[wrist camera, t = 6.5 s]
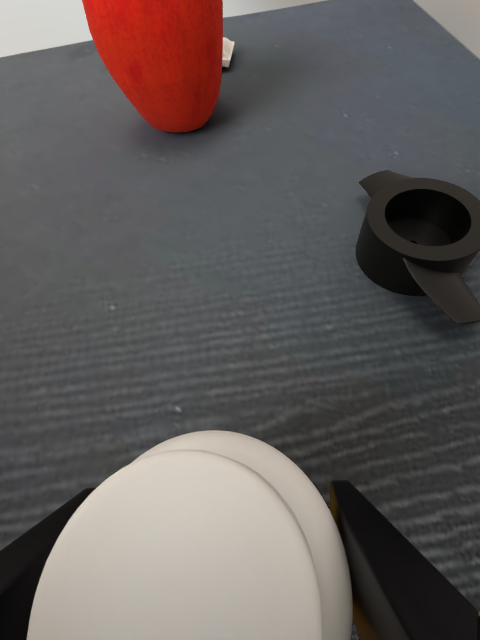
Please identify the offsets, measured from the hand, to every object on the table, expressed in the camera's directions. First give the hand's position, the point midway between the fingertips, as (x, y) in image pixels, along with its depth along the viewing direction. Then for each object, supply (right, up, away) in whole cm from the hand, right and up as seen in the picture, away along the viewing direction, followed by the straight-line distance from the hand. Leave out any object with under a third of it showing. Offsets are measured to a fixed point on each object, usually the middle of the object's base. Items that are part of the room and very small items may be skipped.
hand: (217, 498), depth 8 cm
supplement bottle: (+1, -5, +5) cm, 7 cm away
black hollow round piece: (+10, +8, +11) cm, 17 cm away
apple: (-4, +21, +20) cm, 30 cm away
